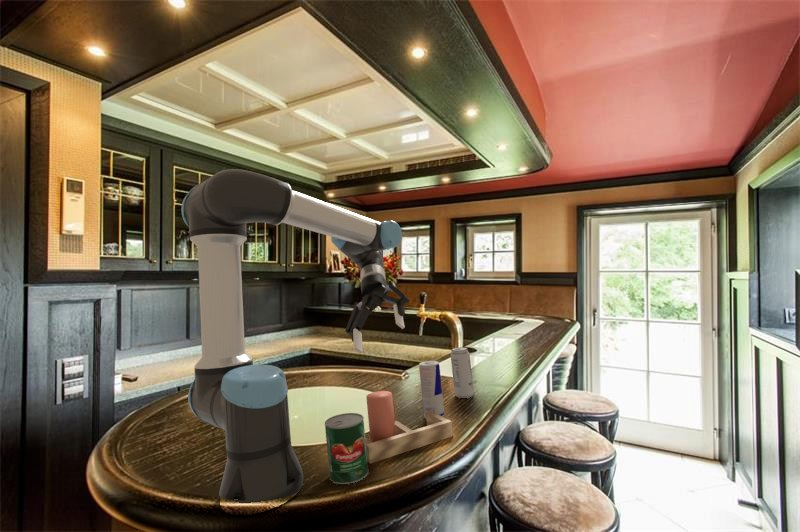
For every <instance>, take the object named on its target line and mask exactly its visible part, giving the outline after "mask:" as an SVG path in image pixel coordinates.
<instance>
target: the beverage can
mask: <svg viewBox="0 0 800 532" xmlns="http://www.w3.org/2000/svg"><path fill="white" fill-rule="evenodd" d="M418 368H419V377H420V378H419V379H420V389H421V398H422V408H423V417H424V419H426V420H427V418H426V412H429V411H432V412H434V413H436V414H438V415H440V416H442V417H444V416H445V407H444V398H443V388H442V377H441V367H440V361H437V360H427V361H421V362H419V367H418ZM444 418H445V417H444Z"/></svg>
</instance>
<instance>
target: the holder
mask: <svg viewBox="0 0 800 532" xmlns="http://www.w3.org/2000/svg"><path fill="white" fill-rule="evenodd" d="M426 418H427V419H426ZM426 418H425V419H426V424H427V425H426V426H423V427H420V428H419V427H418V428H416V429H413V430H412V429H411V428H409V427H408V426H406V425H404V424H402V422H400V421H398V420H394V421H395V432H396V436H393V437H389V438H386V439H383V440H379V441H376V442H373V443H372V442H371V441H370V438H367V436H365V441H366V452H367V461H368V463H369V464H374V463H377V462H379V461H382V460H385V459H389V458H392V457H394V456H398V455H400V454H403V453H406V452H410V451H412V450H415V449H419V448H422V447H426V446H428V445H430V444H434V443H436V442H440V441H442V440H445V439H446V440H447V439H449V438H451V437H454V432H453V423H452V420H450V419H448V418H447V417H442V416H440V415H438V414H436V413H434V412H432V411H429V412H426Z"/></svg>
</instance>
